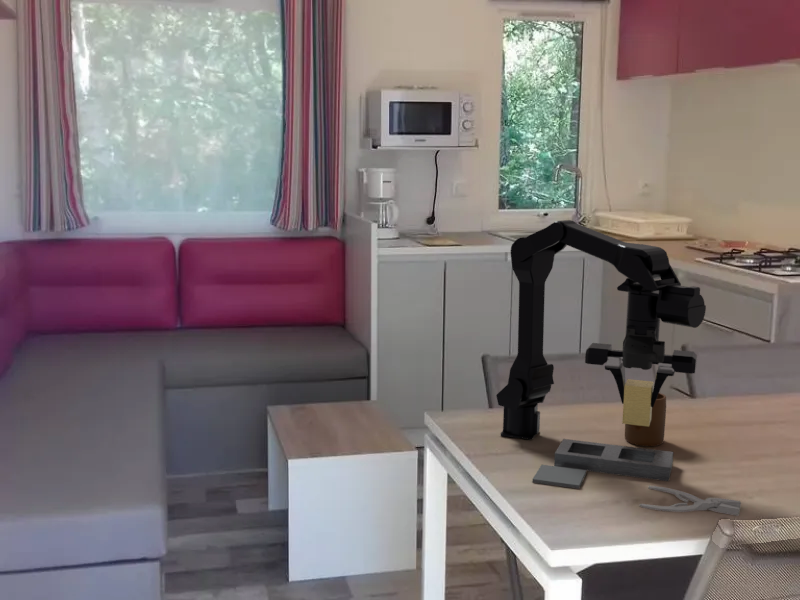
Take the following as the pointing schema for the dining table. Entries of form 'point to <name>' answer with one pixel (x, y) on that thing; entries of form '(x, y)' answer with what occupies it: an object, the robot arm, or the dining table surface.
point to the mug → (654, 431)
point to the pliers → (696, 503)
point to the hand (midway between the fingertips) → (637, 405)
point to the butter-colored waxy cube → (637, 402)
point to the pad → (559, 476)
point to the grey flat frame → (614, 459)
